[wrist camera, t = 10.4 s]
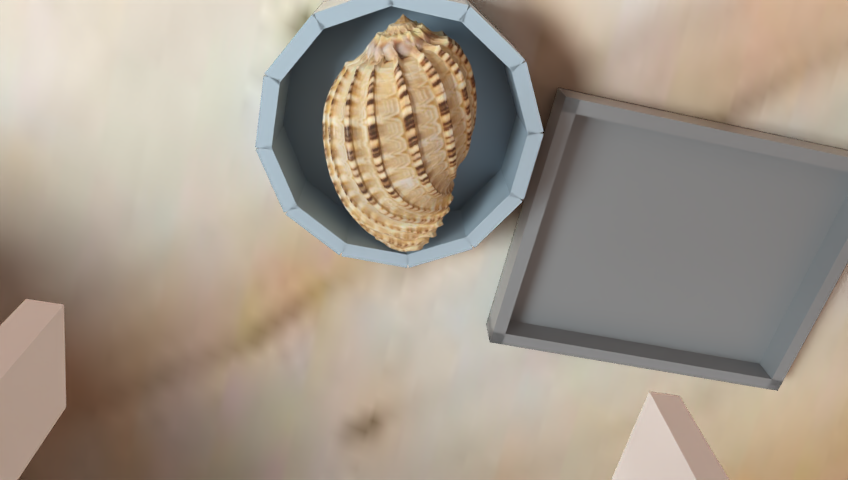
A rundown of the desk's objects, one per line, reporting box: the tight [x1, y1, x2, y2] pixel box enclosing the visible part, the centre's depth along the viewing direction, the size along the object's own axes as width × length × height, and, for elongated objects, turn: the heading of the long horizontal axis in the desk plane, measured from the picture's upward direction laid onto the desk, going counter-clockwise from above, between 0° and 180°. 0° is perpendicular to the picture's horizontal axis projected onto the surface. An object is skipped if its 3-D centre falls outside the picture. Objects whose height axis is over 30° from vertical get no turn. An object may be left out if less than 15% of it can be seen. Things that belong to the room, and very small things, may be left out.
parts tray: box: [486, 88, 848, 391], centre depth 36 cm, size 17×14×2 cm
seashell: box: [322, 14, 477, 252], centre depth 30 cm, size 8×6×10 cm
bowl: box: [255, 0, 544, 268], centre depth 32 cm, size 12×12×4 cm
